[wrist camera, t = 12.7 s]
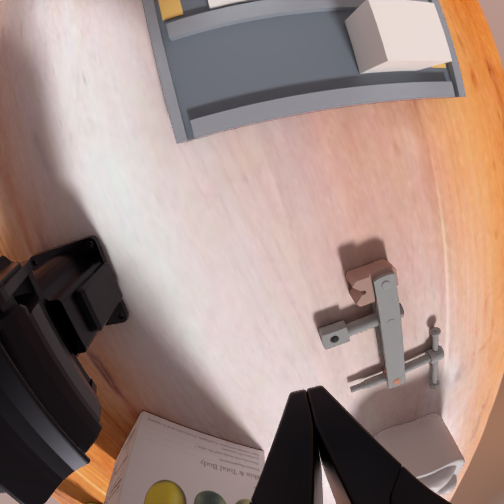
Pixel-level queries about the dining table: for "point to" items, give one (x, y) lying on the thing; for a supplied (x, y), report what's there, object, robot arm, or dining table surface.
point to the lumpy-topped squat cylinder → (425, 451)
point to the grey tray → (272, 63)
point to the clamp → (381, 325)
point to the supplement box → (182, 467)
